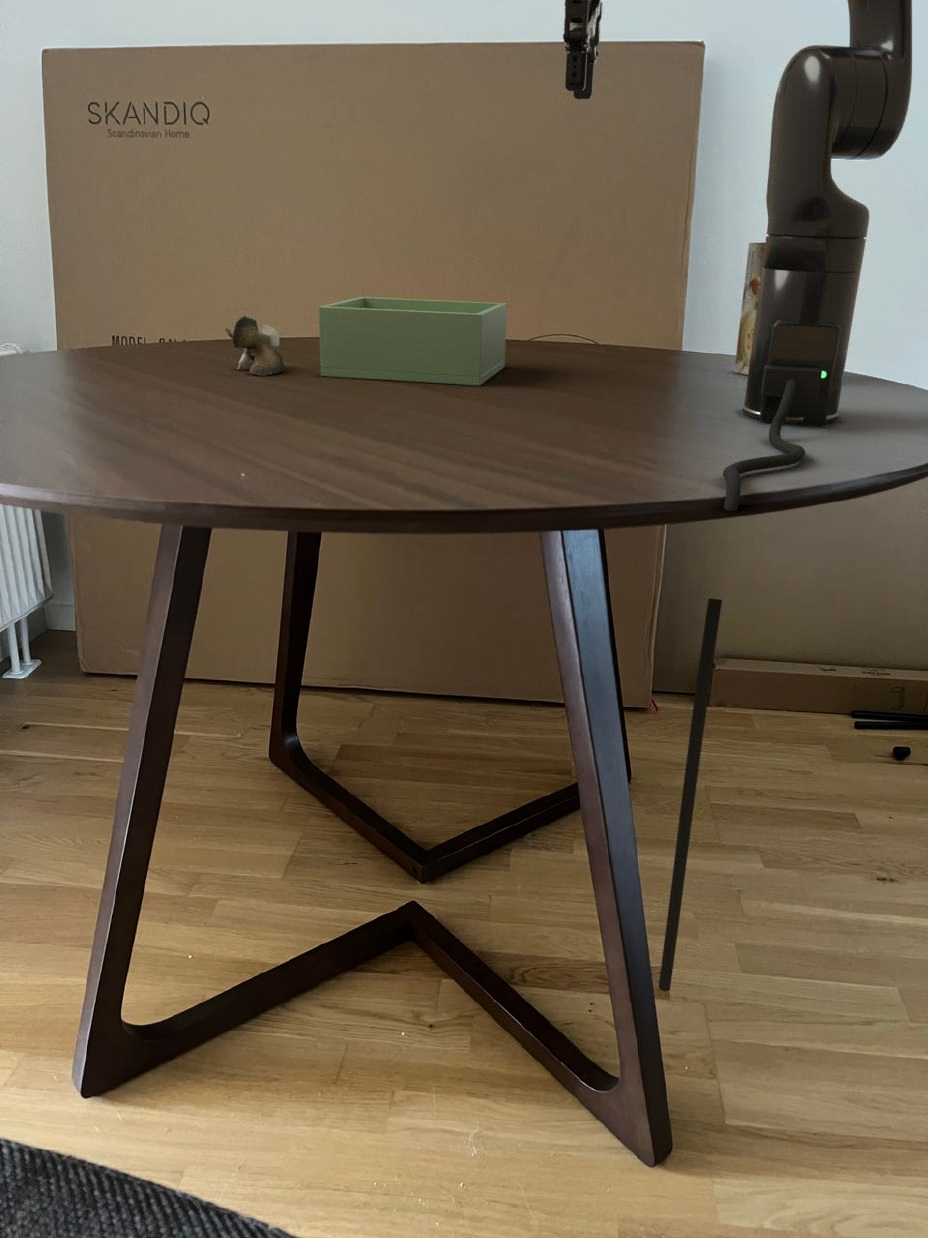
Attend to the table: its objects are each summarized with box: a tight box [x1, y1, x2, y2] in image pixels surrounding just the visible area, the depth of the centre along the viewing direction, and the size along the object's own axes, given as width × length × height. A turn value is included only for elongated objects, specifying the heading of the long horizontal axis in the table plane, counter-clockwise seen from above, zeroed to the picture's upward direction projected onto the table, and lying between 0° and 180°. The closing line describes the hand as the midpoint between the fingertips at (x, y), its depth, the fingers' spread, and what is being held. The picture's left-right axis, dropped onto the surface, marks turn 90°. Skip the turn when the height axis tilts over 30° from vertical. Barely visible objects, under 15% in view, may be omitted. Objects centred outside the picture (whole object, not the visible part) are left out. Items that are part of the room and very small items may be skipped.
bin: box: [318, 296, 508, 387], centre depth 123 cm, size 16×20×8 cm
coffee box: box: [733, 242, 765, 376], centre depth 124 cm, size 9×6×16 cm
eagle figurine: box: [224, 315, 285, 377], centre depth 122 cm, size 8×7×9 cm
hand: (578, 94), depth 117 cm, fingers open, 8 cm apart
